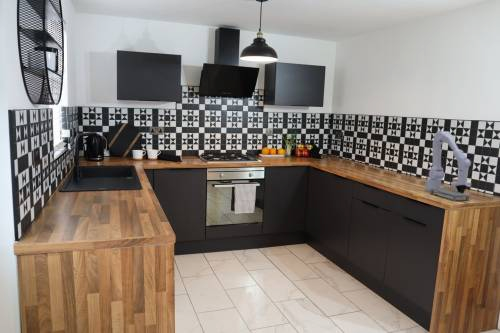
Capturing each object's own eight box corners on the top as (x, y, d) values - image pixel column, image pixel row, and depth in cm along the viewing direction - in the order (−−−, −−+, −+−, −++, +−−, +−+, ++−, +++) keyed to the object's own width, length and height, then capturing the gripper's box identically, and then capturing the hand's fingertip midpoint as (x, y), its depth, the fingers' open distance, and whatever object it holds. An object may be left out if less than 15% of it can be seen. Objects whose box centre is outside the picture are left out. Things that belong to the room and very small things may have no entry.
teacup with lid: (454, 189, 298) (456, 174, 296) (466, 191, 291) (468, 176, 289) (446, 190, 291) (448, 175, 289) (459, 193, 284) (461, 177, 282)
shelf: (443, 193, 278) (444, 188, 277) (468, 201, 257) (469, 195, 256) (429, 194, 274) (430, 188, 274) (454, 201, 253) (455, 195, 253)
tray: (450, 194, 275) (450, 192, 275) (467, 199, 261) (468, 197, 261) (436, 195, 272) (437, 192, 271) (453, 200, 257) (453, 197, 257)
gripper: (458, 177, 260) (456, 197, 262) (475, 177, 265) (473, 197, 267) (450, 175, 267) (448, 195, 269) (467, 175, 271) (464, 194, 273)
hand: (460, 196), depth 268 cm, fingers closed
